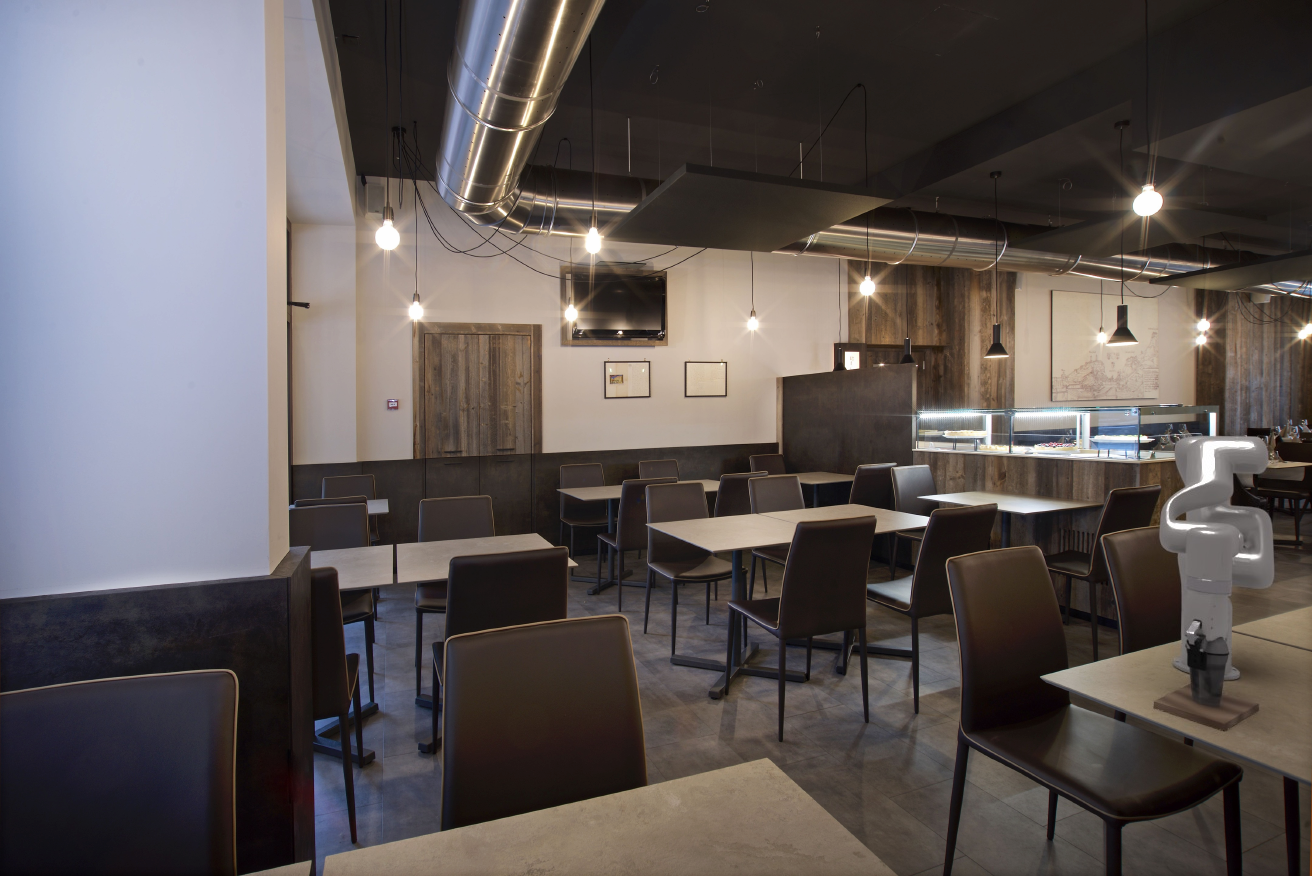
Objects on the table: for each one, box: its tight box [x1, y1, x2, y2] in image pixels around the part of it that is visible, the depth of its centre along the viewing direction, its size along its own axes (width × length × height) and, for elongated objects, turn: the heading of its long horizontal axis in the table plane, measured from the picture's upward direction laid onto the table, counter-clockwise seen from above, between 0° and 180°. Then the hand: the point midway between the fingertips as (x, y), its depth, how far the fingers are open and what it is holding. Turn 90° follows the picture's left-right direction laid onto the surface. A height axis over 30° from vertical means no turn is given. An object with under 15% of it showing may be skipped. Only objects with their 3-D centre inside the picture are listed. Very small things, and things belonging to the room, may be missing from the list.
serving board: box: [1153, 683, 1260, 732], centre depth 137 cm, size 18×12×2 cm, turn 120°
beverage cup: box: [1185, 635, 1229, 707], centre depth 137 cm, size 7×7×20 cm
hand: (1206, 664), depth 137 cm, fingers open, 9 cm apart
